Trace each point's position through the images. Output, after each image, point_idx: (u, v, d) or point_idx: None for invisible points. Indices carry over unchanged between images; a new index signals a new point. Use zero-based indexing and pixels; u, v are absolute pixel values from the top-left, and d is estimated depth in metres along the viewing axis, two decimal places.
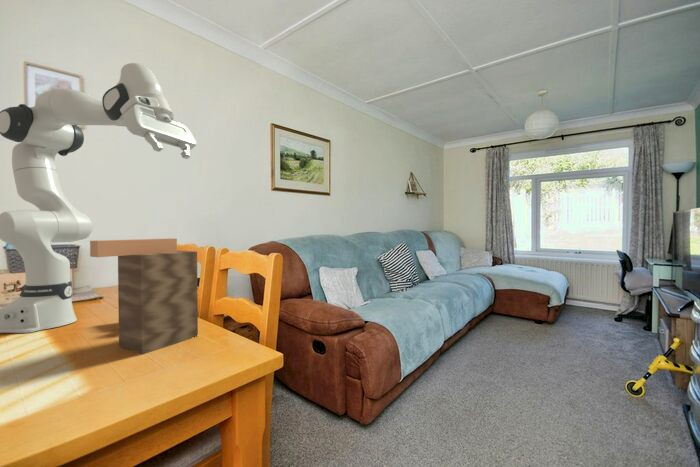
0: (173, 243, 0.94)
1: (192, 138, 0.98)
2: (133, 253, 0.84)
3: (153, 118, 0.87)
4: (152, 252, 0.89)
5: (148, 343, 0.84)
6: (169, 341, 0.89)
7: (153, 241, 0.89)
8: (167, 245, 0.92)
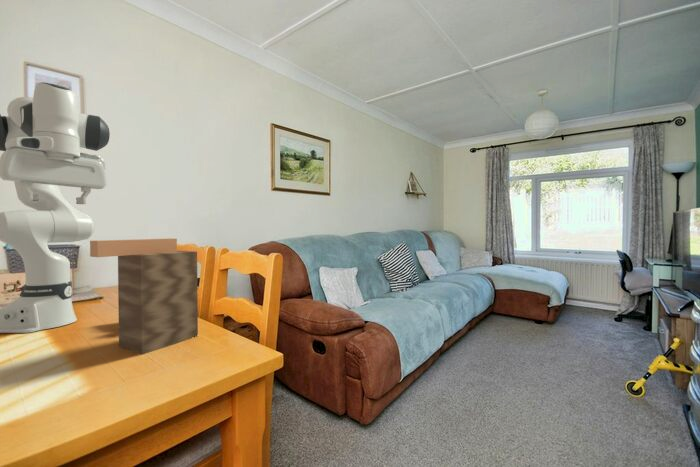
0: (173, 243, 0.94)
1: (99, 180, 0.87)
2: (133, 253, 0.84)
3: (41, 161, 0.77)
4: (152, 252, 0.89)
5: (148, 343, 0.84)
6: (169, 341, 0.89)
7: (153, 241, 0.89)
8: (167, 245, 0.92)
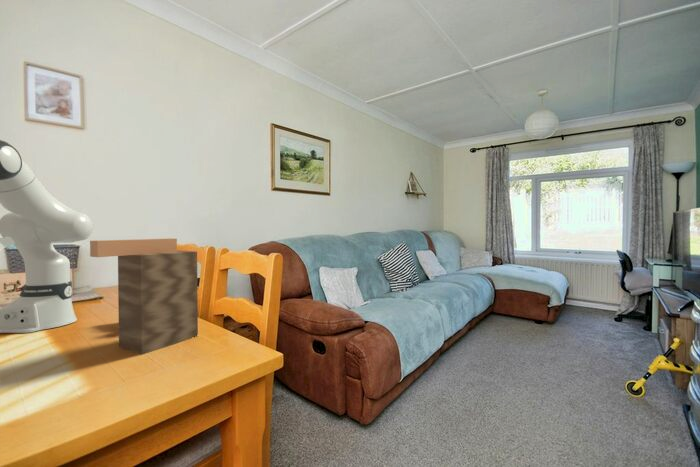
0: (173, 243, 0.94)
1: None
2: (133, 253, 0.84)
3: None
4: (152, 252, 0.89)
5: (148, 343, 0.84)
6: (169, 341, 0.89)
7: (153, 241, 0.89)
8: (167, 245, 0.92)
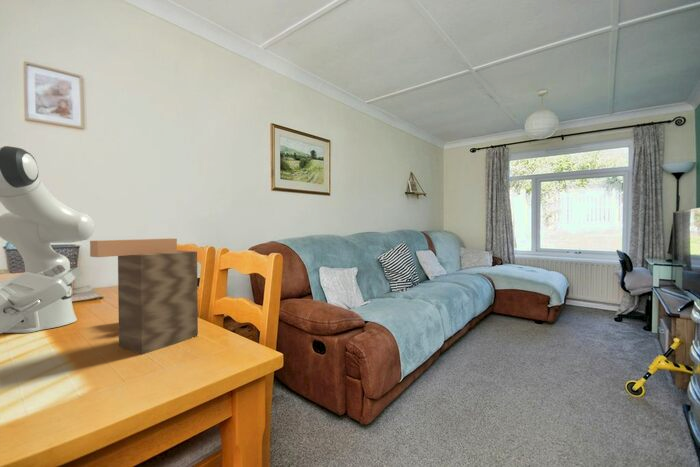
0: (173, 243, 0.94)
1: None
2: (133, 253, 0.84)
3: None
4: (152, 252, 0.89)
5: (148, 343, 0.84)
6: (169, 341, 0.89)
7: (153, 241, 0.89)
8: (167, 245, 0.92)
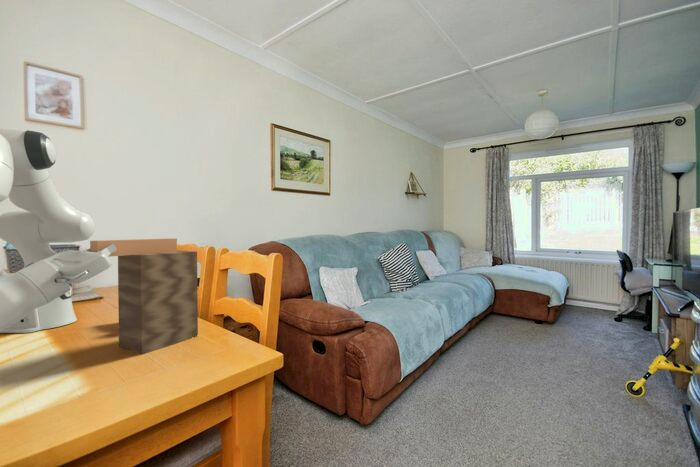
0: (173, 243, 0.94)
1: None
2: (133, 253, 0.84)
3: None
4: (152, 252, 0.89)
5: (148, 343, 0.84)
6: (169, 341, 0.89)
7: (153, 241, 0.89)
8: (167, 245, 0.92)
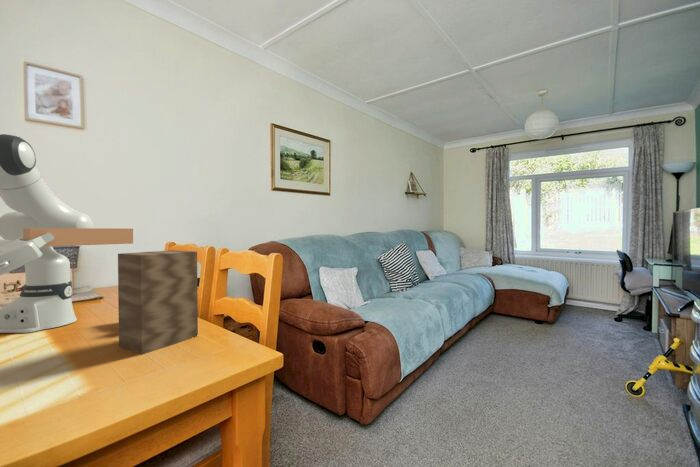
0: (129, 233, 0.83)
1: None
2: (77, 243, 0.74)
3: None
4: (102, 243, 0.78)
5: (148, 343, 0.84)
6: (169, 341, 0.89)
7: (102, 230, 0.78)
8: (120, 236, 0.82)
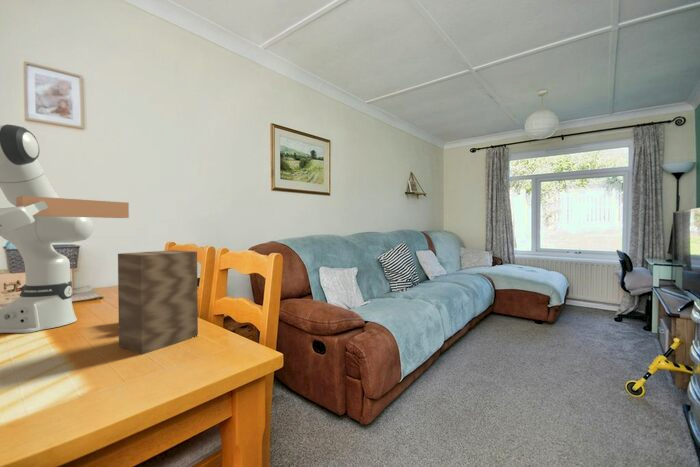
0: (124, 207, 0.82)
1: None
2: (71, 214, 0.73)
3: None
4: (96, 215, 0.77)
5: (148, 343, 0.84)
6: (169, 341, 0.89)
7: (97, 203, 0.77)
8: (116, 209, 0.81)
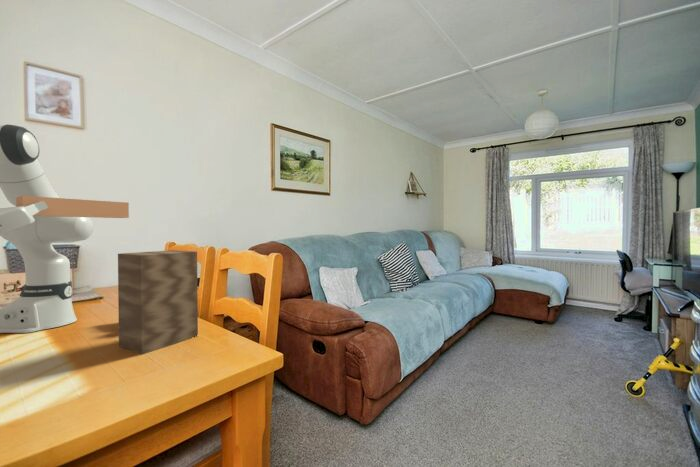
0: (124, 207, 0.82)
1: None
2: (71, 214, 0.73)
3: None
4: (96, 215, 0.77)
5: (148, 343, 0.84)
6: (169, 341, 0.89)
7: (97, 202, 0.77)
8: (116, 209, 0.81)
